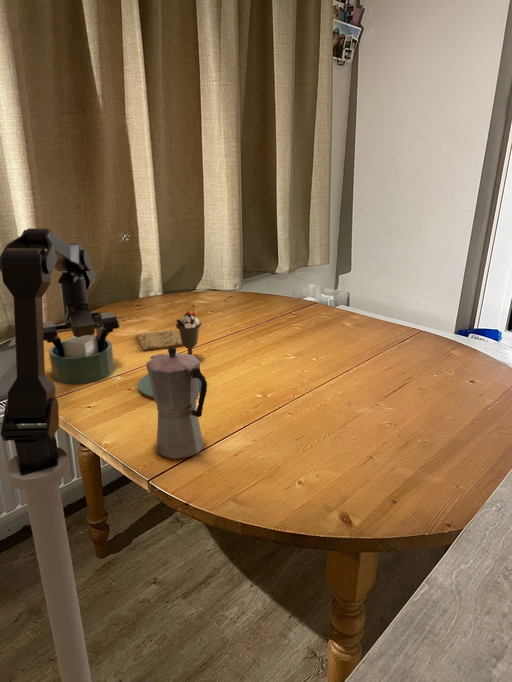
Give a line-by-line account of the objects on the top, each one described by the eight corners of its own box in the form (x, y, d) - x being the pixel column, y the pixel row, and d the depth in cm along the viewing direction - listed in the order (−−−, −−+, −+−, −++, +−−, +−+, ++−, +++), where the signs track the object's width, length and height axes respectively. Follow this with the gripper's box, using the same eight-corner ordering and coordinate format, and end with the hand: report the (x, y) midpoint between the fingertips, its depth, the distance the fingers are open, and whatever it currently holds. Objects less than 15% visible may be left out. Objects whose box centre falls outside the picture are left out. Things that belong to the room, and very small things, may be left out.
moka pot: (173, 423, 102) (168, 332, 95) (229, 451, 93) (228, 352, 86) (136, 443, 95) (127, 346, 88) (192, 475, 86) (187, 370, 79)
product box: (88, 371, 122) (84, 343, 119) (65, 369, 123) (61, 341, 120) (100, 362, 127) (97, 335, 125) (78, 360, 128) (75, 333, 126)
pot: (59, 389, 116) (55, 363, 114) (48, 366, 128) (44, 342, 126) (121, 375, 123) (118, 351, 121) (105, 355, 135) (102, 332, 133)
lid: (151, 408, 108) (149, 385, 106) (129, 380, 121) (127, 359, 119) (216, 391, 116) (215, 369, 113) (189, 367, 128) (188, 347, 126)
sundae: (205, 355, 135) (203, 302, 130) (200, 366, 129) (198, 310, 124) (181, 354, 136) (178, 301, 130) (175, 364, 130) (172, 309, 124)
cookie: (186, 345, 142) (185, 342, 142) (143, 351, 138) (142, 347, 137) (176, 331, 152) (176, 328, 152) (136, 336, 148) (135, 333, 148)
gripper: (37, 312, 108) (48, 378, 113) (123, 300, 117) (128, 362, 122) (30, 300, 117) (40, 361, 122) (110, 289, 126) (116, 347, 131)
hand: (82, 358), depth 124 cm, fingers closed on product box, 8 cm apart
